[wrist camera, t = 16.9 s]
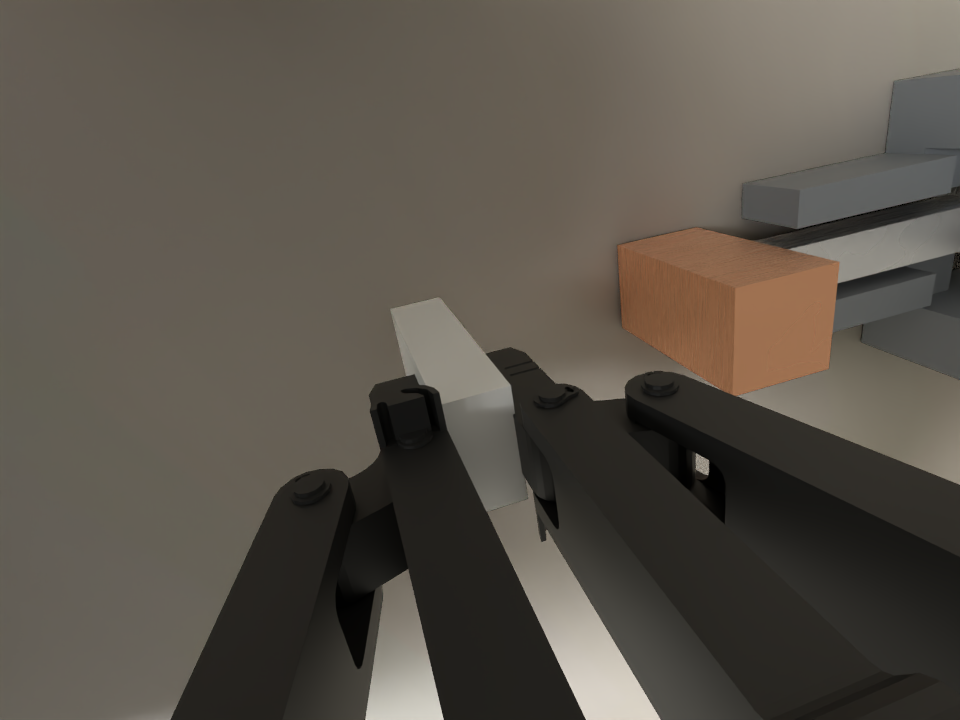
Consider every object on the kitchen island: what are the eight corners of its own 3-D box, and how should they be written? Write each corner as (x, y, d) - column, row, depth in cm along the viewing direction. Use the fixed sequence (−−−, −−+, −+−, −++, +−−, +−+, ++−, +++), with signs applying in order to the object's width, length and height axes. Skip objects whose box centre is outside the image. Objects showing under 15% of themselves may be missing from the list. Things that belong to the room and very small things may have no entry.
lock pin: (622, 327, 20) (732, 396, 15) (617, 245, 19) (735, 288, 14) (918, 251, 23) (1105, 288, 17) (930, 174, 21) (1136, 186, 16)
